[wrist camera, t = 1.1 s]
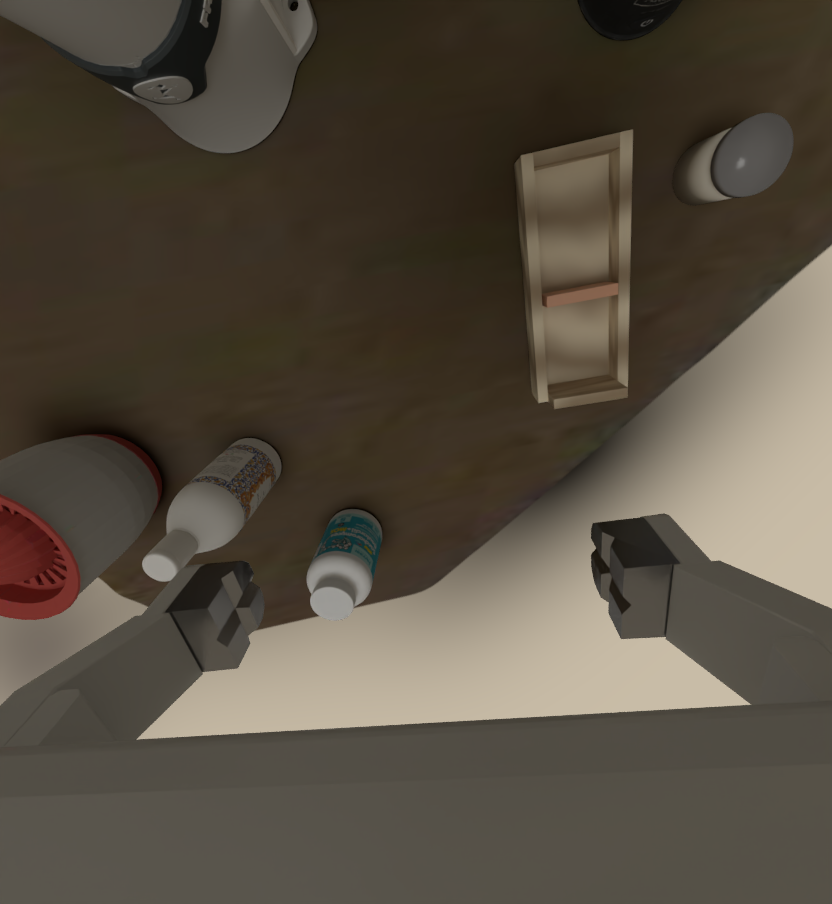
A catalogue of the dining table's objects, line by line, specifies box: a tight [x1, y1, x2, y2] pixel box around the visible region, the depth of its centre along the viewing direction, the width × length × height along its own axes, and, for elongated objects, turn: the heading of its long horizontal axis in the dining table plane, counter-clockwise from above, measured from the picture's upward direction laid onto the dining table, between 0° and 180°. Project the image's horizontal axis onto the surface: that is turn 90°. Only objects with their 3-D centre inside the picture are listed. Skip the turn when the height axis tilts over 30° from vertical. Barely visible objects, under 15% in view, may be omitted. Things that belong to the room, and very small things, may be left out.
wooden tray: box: [514, 129, 633, 409], centre depth 39 cm, size 22×9×6 cm, turn 11°
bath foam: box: [142, 438, 281, 581], centre depth 43 cm, size 7×7×20 cm
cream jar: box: [673, 113, 793, 205], centre depth 34 cm, size 5×5×7 cm
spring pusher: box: [542, 281, 618, 308], centre depth 40 cm, size 1×6×3 cm, turn 101°
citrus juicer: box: [0, 434, 162, 620], centre depth 45 cm, size 16×17×20 cm
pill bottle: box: [307, 509, 382, 620], centre depth 50 cm, size 8×7×14 cm
